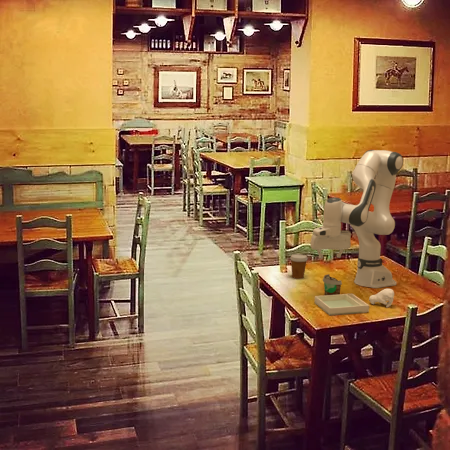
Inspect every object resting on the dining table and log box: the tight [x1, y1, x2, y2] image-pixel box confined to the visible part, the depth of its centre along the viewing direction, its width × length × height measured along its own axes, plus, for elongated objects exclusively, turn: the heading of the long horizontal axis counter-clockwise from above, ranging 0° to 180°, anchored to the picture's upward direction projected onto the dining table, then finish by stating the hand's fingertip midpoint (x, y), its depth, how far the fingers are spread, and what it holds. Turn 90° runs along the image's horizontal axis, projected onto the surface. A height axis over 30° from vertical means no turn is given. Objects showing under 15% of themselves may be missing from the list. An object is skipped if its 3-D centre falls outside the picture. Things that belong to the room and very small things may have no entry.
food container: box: [322, 273, 343, 296], centre depth 349 cm, size 12×6×10 cm, turn 23°
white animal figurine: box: [368, 288, 395, 308], centre depth 339 cm, size 6×8×12 cm
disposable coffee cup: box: [289, 253, 308, 280], centre depth 381 cm, size 10×10×12 cm
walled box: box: [314, 293, 370, 316], centre depth 334 cm, size 20×18×4 cm
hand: (329, 257), depth 346 cm, fingers open, 8 cm apart
